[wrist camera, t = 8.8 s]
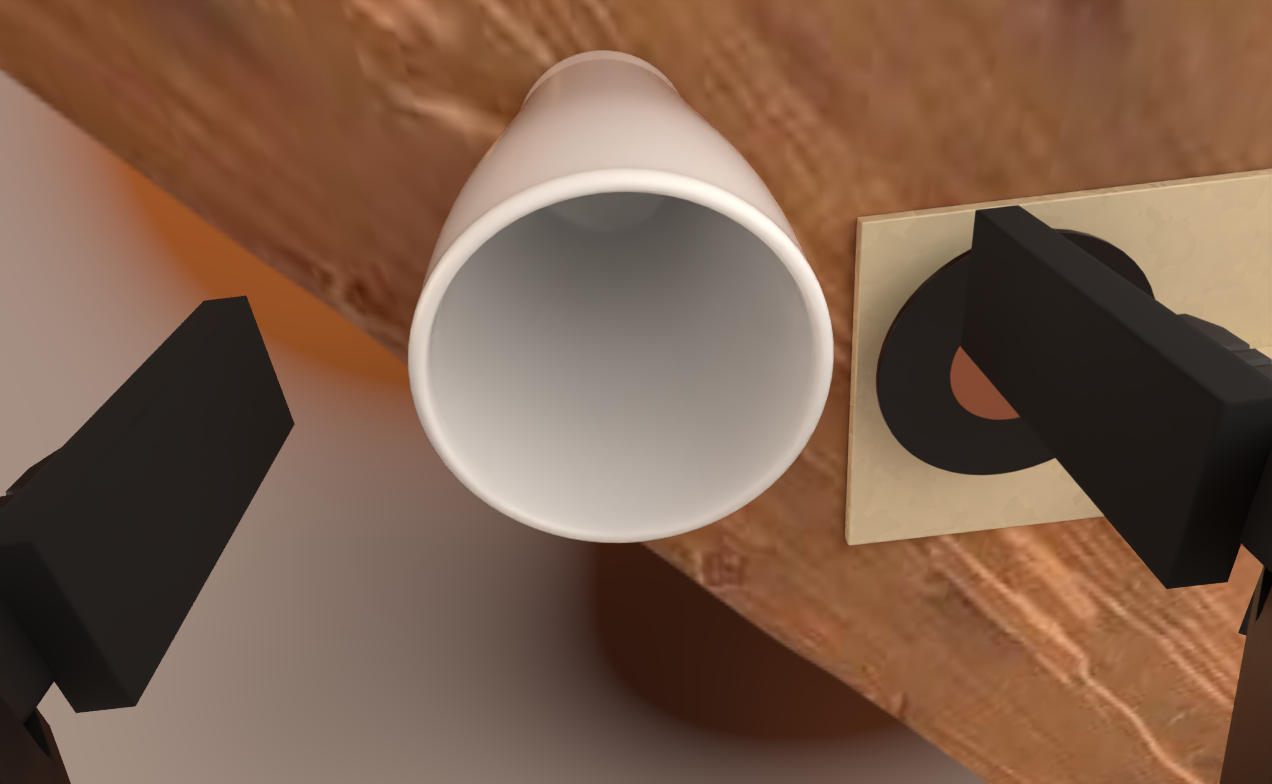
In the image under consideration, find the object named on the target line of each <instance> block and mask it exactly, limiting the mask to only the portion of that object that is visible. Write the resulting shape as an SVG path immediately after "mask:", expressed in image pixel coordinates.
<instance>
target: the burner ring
mask: <svg viewBox="0 0 1272 784" xmlns="http://www.w3.org/2000/svg"><path fill="white" fill-rule="evenodd" d="M1052 229H1054V230H1055V231H1057V232H1058V233H1060V234H1061V235H1063V236H1064V237H1065V238H1067V239H1068V240H1070V241H1071V242H1073V243H1074V244H1076V245H1077V246H1078V247H1080V248H1081V249H1083V250H1084V251H1086V252H1087V253H1089V254H1090V255H1092V256H1093V257H1094V258H1096V259H1097V260H1099V261H1100V262H1102V263H1103V264H1105V265H1106V266H1107V267H1109V268H1110V269H1112V270H1113V271H1115V272H1116V273H1118V274H1119V275H1121V276H1122V277H1123V278H1125V279H1126V280H1128V281H1129V282H1131V283H1132V284H1134V285H1135V286H1136V287H1138V288H1139V289H1141V290H1142V291H1144V292H1145V293H1147V294H1148V295H1150V296H1151V297H1152V298H1154V299H1155V297H1154V294H1153V290H1152V287H1151V285H1150V283H1149V281H1148V279H1147V277H1146V276H1145V274H1144V272H1143V271H1142V270H1141V268H1140V267H1139V266H1138V265H1137V263H1136V262H1135V261H1134V260H1133V259H1132V258H1131V257H1129V256H1128V255H1127V254H1126V253H1125V252H1124V251H1122V250H1121V249H1119V248H1118V247H1116V246H1114V245H1113V244H1111V243H1109V242H1108V241H1106V240H1104V239H1102V238H1099V237H1096V236H1094V235H1091V234H1089V233H1084V232H1079V231H1075V230H1069V229H1055V228H1052ZM970 255H971V249H969V250H968V251H966V252H964V253H962V254H960V255H959V256H957V257H955V258H954V259H952V260H951V261H949V262H948V263H947V264H945V265H944V266H942V267H941V268H939V269H938V270H937V271H936V272H935V273H933V274H932V275H931V276H930V277H929V278H928V279H927V280H925V281H924V282H923V283H922V284H921V285H920V286H919V287H918V289H917V290H916V291H915V292H914V293H913V294H912V295H911V296H910V297H909V299H908V300H907V301H906V303H905V304H904V305H903V307H902V308H901V309H900V311H899V312H898V314H897V315H896V317H895V319H894V321H893V322H892V324H891V326H890V328H889V330H888V332H887V334H886V337H885V339H884V341H883V344H882V347H881V351H880V355H879V358H878V363H877V371H876V394H877V399H878V405H879V408H880V411H881V413H882V416H883V419H884V421H885V423H886V424H887V426H888V428H889V430H890V431H891V433H892V435H893V436H894V437H895V438H896V440H897V441H898V442H899V443H900V445H901V446H903V447H904V448H905V449H906V450H907V451H908V452H909V453H910V454H912V455H913V456H915V457H916V458H918V459H920V460H921V461H923V462H925V463H927V464H929V465H931V466H934V467H936V468H939V469H942V470H945V471H949V472H953V473H959V474H965V475H997V474H1004V473H1010V472H1016V471H1020V470H1023V469H1027V468H1031V467H1034V466H1037V465H1039V464H1042V463H1045V462H1048V461H1050V460H1052V459H1054V458H1055V457H1054V456H1053V455H1052V454H1051V452H1050V451H1049V450H1048V449H1047V448H1046V447H1045V445H1044V444H1043V443H1042V442H1041V441H1040V440H1039V438H1038V437H1037V436H1036V435H1035V434H1034V432H1033V431H1032V430H1031V429H1030V428H1029V427H1028V425H1027V424H1026V423H1025V422H1024V421H1023V420H1022V418H1021V417H1020V416H1019V415H1018V414H1017V413H1016V411H1015V410H1014V409H1013V408H1012V407H1011V405H1010V404H1009V403H1008V402H1007V401H1006V400H1005V398H1004V397H1003V396H1002V395H1001V394H1000V393H999V391H998V390H997V389H996V388H995V387H994V386H993V384H992V383H991V382H990V381H989V380H988V378H987V377H986V376H985V375H984V374H983V373H982V371H981V370H980V369H979V368H978V367H977V366H976V364H975V363H974V362H973V361H972V360H971V358H970V357H969V356H968V355H967V354H966V353H965V351H964V350H963V349H962V348H961V347H960V346H961V337H962V328H963V319H964V310H965V301H966V292H967V283H968V273H969V264H970Z"/></svg>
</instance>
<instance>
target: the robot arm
mask: <svg viewBox="0 0 1272 784" xmlns="http://www.w3.org/2000/svg"><path fill="white" fill-rule="evenodd" d="M960 347H961V348H962V349H963V350H964V351H965V353H966V354H967V355H968V356H969V357H970V358H971V360H972V361H973V362H974V363H975V364H976V366H977V367H978V368H979V369H980V370H981V371H982V373H983V374H984V375H985V376H986V377H987V378H988V380H989V381H990V382H991V383H992V384H993V386H994V387H995V388H996V389H997V390H998V391H999V393H1000V394H1001V395H1002V396H1003V397H1004V398H1005V400H1006V401H1007V402H1008V403H1009V404H1010V405H1011V407H1012V408H1013V409H1014V410H1015V411H1016V413H1017V414H1018V415H1019V416H1020V417H1021V418H1022V420H1023V421H1024V422H1025V423H1026V424H1027V425H1028V427H1029V428H1030V429H1031V430H1032V431H1033V432H1034V434H1035V435H1036V436H1037V437H1038V438H1039V440H1040V441H1041V442H1042V443H1043V444H1044V445H1045V447H1046V448H1047V449H1048V450H1049V451H1050V452H1051V454H1052V455H1053V456H1054V457H1055V458H1056V460H1057V461H1058V462H1059V463H1060V464H1061V465H1062V467H1063V468H1064V469H1065V470H1066V471H1067V472H1068V474H1069V475H1070V476H1071V477H1072V478H1073V479H1074V481H1075V482H1076V483H1077V484H1078V485H1079V487H1080V488H1081V489H1082V490H1083V491H1084V492H1085V494H1086V495H1087V496H1088V497H1089V498H1090V499H1091V501H1092V502H1093V503H1094V504H1095V505H1096V507H1097V508H1098V509H1099V510H1100V511H1101V512H1102V514H1103V515H1104V516H1105V517H1106V518H1107V519H1108V521H1109V522H1110V523H1111V524H1112V525H1113V526H1114V528H1115V529H1116V530H1117V531H1118V532H1119V534H1120V535H1121V536H1122V537H1123V538H1124V539H1125V541H1126V542H1127V543H1128V544H1129V545H1130V546H1131V548H1132V549H1133V550H1134V551H1135V552H1136V554H1137V555H1138V556H1139V557H1140V558H1141V559H1142V561H1143V562H1144V563H1145V564H1146V565H1147V566H1148V568H1149V569H1150V570H1151V571H1152V572H1153V573H1154V575H1155V576H1156V577H1157V578H1158V579H1159V581H1160V582H1161V583H1162V584H1163V585H1164V586H1165V588H1166V589H1171V588H1179V587H1188V586H1197V585H1206V584H1215V583H1223V582H1228V579H1229V576H1230V573H1231V571H1232V568H1233V565H1234V562H1235V559H1236V557H1237V554H1238V551H1239V548H1240V545H1241V544H1242V545H1243V546H1244V547H1245V548H1246V549H1247V550H1248V551H1249V552H1250V553H1252V554H1253V555H1254V556H1255V557H1256V558H1257V559H1258V560H1259V561H1260V562H1261V563H1262V564H1263V565H1264V567H1263V569H1262V572H1261V575H1260V577H1259V580H1258V583H1257V585H1256V588H1255V590H1254V593H1253V596H1252V598H1251V601H1250V604H1249V606H1248V609H1247V611H1246V614H1245V617H1244V619H1243V622H1242V625H1241V627H1240V630H1239V632H1238V633H1240V634H1243V635H1246V642H1245V647H1244V653H1243V658H1242V664H1241V669H1240V675H1239V680H1238V686H1237V691H1236V697H1235V702H1234V708H1233V713H1232V719H1231V724H1230V730H1229V735H1228V741H1227V746H1226V752H1225V757H1224V763H1223V768H1222V773H1221V779H1220V784H1272V359H1271V358H1269V357H1267V356H1266V355H1264V354H1263V353H1261V352H1260V351H1258V350H1257V349H1255V348H1254V349H1250V345H1249V344H1248V343H1246V342H1245V341H1243V340H1242V339H1240V338H1239V337H1237V336H1236V335H1234V334H1233V333H1231V332H1230V331H1228V330H1227V329H1225V328H1224V327H1221V326H1218V325H1216V324H1213V323H1210V322H1208V321H1205V320H1202V319H1200V318H1197V317H1194V316H1191V315H1189V314H1186V313H1185V314H1176V313H1174V312H1173V311H1171V310H1170V309H1168V308H1167V307H1165V306H1164V305H1163V304H1161V303H1160V302H1158V301H1157V300H1155V299H1154V298H1152V297H1151V296H1150V295H1148V294H1147V293H1145V292H1144V291H1142V290H1141V289H1139V288H1138V287H1136V286H1135V285H1134V284H1132V283H1131V282H1129V281H1128V280H1126V279H1125V278H1123V277H1122V276H1121V275H1119V274H1118V273H1116V272H1115V271H1113V270H1112V269H1110V268H1109V267H1107V266H1106V265H1105V264H1103V263H1102V262H1100V261H1099V260H1097V259H1096V258H1094V257H1093V256H1092V255H1090V254H1089V253H1087V252H1086V251H1084V250H1083V249H1081V248H1080V247H1078V246H1077V245H1076V244H1074V243H1073V242H1071V241H1070V240H1068V239H1067V238H1065V237H1064V236H1063V235H1061V234H1060V233H1058V232H1057V231H1055V230H1054V229H1052V228H1051V227H1049V226H1048V225H1047V224H1045V223H1044V222H1042V221H1041V220H1039V219H1038V218H1036V217H1035V216H1034V215H1032V214H1031V213H1029V212H1028V211H1026V210H1025V209H1023V208H1022V207H1020V206H1019V205H1014V206H1006V207H997V208H989V209H980V210H975V219H974V228H973V237H972V246H971V255H970V264H969V273H968V283H967V292H966V301H965V310H964V319H963V328H962V337H961V346H960ZM293 426H294V422H293V419H292V416H291V413H290V411H289V408H288V406H287V403H286V400H285V397H284V395H283V392H282V389H281V387H280V384H279V382H278V379H277V376H276V373H275V371H274V368H273V366H272V363H271V360H270V358H269V355H268V352H267V350H266V347H265V345H264V342H263V339H262V336H261V334H260V331H259V328H258V326H257V323H256V320H255V318H254V315H253V312H252V310H251V307H250V305H249V302H248V299H247V297H246V296H240V297H231V298H223V299H214V300H206V301H203V302H202V303H201V304H200V305H199V306H198V308H196V309H195V311H194V312H193V313H192V314H191V315H190V316H189V317H188V318H187V319H186V320H185V321H184V322H183V323H182V324H181V325H180V326H179V327H178V328H177V329H176V330H175V331H174V332H173V333H172V334H171V335H170V336H169V338H167V340H165V341H164V343H163V344H162V345H161V346H160V347H159V348H158V349H157V350H156V351H155V352H154V353H153V354H152V355H151V356H150V357H149V358H148V359H147V360H146V361H145V362H144V363H143V364H142V365H141V366H140V367H139V368H138V370H136V371H135V372H134V373H133V374H132V375H131V377H130V378H129V379H128V380H127V381H126V382H125V383H124V384H123V385H122V386H121V387H120V388H119V389H118V390H117V391H116V392H115V393H114V394H113V395H112V396H111V397H110V398H109V399H108V400H107V401H106V402H105V404H103V405H102V406H101V407H100V408H99V410H98V411H97V412H96V413H95V414H94V415H93V416H92V417H91V418H90V419H89V420H88V421H87V422H86V423H85V424H84V425H83V426H82V427H81V428H80V429H79V430H78V431H77V432H76V433H75V434H74V435H73V436H72V437H71V438H70V439H69V440H68V441H67V442H66V444H65V445H64V446H63V447H61V448H60V449H58V450H57V451H55V452H53V453H52V454H51V455H49V456H47V457H46V458H44V459H43V460H41V461H40V462H38V463H37V464H35V465H33V466H32V467H30V468H29V469H28V470H27V471H26V472H25V473H24V474H23V475H22V476H21V477H20V478H19V479H18V480H17V481H16V482H15V483H14V484H13V485H12V486H11V487H10V488H9V489H8V490H7V491H6V496H1V497H0V784H71V783H70V780H69V778H68V775H67V772H66V769H65V766H64V764H63V761H62V758H61V756H60V753H59V750H58V747H57V744H56V742H55V739H54V736H53V733H52V731H51V728H50V726H49V724H48V723H47V722H46V720H45V719H44V717H43V716H42V714H41V713H40V712H39V710H38V709H37V705H38V704H39V702H40V701H41V700H42V698H43V697H44V695H45V694H46V692H47V691H48V689H49V688H50V686H51V685H52V683H53V682H55V683H56V685H57V686H58V687H59V689H60V690H61V692H62V693H63V695H64V696H65V698H66V699H67V701H68V702H69V704H70V705H71V706H72V708H73V709H74V711H75V712H76V713H80V712H89V711H97V710H107V709H116V708H124V707H133V706H136V705H137V703H138V701H139V699H140V697H141V696H142V694H143V692H144V690H145V689H146V687H147V685H148V683H149V681H150V680H151V678H152V676H153V674H154V673H155V671H156V669H157V667H158V665H159V664H160V662H161V660H162V658H163V657H164V655H165V653H166V651H167V650H168V648H169V646H170V644H171V642H172V640H173V639H174V637H175V635H176V634H177V632H178V630H179V628H180V626H181V625H182V623H183V621H184V619H185V618H186V616H187V614H188V612H189V610H190V609H191V607H192V605H193V603H194V602H195V600H196V598H197V596H198V594H199V593H200V591H201V589H202V587H203V586H204V583H205V582H206V580H207V579H208V577H209V575H210V573H211V571H212V569H213V568H214V566H215V564H216V562H217V561H218V559H219V557H220V555H221V554H222V552H223V550H224V548H225V546H226V545H227V543H228V541H229V539H230V538H231V536H232V534H233V532H234V531H235V529H236V527H237V525H238V523H239V522H240V520H241V518H242V516H243V514H244V513H245V511H246V509H247V508H248V506H249V504H250V502H251V500H252V499H253V497H254V495H255V493H256V492H257V490H258V488H259V486H260V484H261V483H262V481H263V479H264V477H265V475H266V474H267V472H268V470H269V468H270V467H271V465H272V463H273V461H274V460H275V458H276V456H277V454H278V452H279V451H280V449H281V447H282V445H283V444H284V442H285V440H286V438H287V436H288V435H289V433H290V431H291V429H292V428H293Z"/></svg>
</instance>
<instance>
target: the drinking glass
mask: <svg viewBox="0 0 1272 784" xmlns="http://www.w3.org/2000/svg"><path fill="white" fill-rule="evenodd" d="M833 360H834V347H833V333H832V326H831V319H830V315H829V311H828V307H827V303H826V300H825V298H824V295H823V292H822V290H821V287H820V284H819V282H818V280H817V278H816V276H815V274H814V273H813V271H812V268H811V266H810V264H809V261H808V259H807V257H806V255H805V253H804V251H803V249H802V247H801V245H800V243H799V241H798V239H797V237H796V235H795V233H794V231H793V229H792V227H791V225H790V223H789V221H788V219H787V218H786V216H785V214H784V212H783V211H782V209H781V207H780V206H779V204H778V203H777V201H776V200H775V198H774V197H773V195H772V194H771V192H770V191H769V189H768V188H767V186H766V185H765V183H764V182H763V180H762V179H761V178H760V176H759V175H758V174H757V172H756V171H755V170H754V169H753V167H752V166H751V165H750V164H749V163H748V161H747V160H746V159H745V158H744V157H743V155H742V154H741V153H740V152H739V151H738V150H737V149H736V148H735V147H734V146H733V145H732V144H731V143H730V142H729V141H728V140H727V139H726V138H725V137H724V136H723V135H722V134H721V133H720V132H719V131H718V130H716V129H715V128H714V127H713V126H712V125H711V124H710V123H709V122H708V121H707V120H705V119H704V118H703V117H702V116H701V115H700V114H699V113H698V112H696V111H695V110H694V109H693V108H692V107H691V106H690V105H689V104H688V103H687V102H686V101H685V100H683V99H682V98H681V96H680V94H679V93H678V91H677V90H676V88H675V87H674V85H673V84H672V83H671V82H670V80H669V79H668V78H667V77H666V76H665V75H664V74H663V73H662V72H660V71H659V70H658V69H657V68H655V67H654V66H652V65H651V64H649V63H648V62H646V61H644V60H642V59H640V58H638V57H636V56H633V55H630V54H627V53H623V52H618V51H611V50H595V51H588V52H583V53H579V54H576V55H573V56H571V57H568V58H566V59H564V60H562V61H560V62H558V63H557V64H555V65H554V66H552V67H551V68H550V69H549V70H547V71H546V72H545V73H544V74H543V75H542V76H541V77H540V78H539V79H538V80H537V81H536V82H535V84H534V85H533V86H532V88H531V89H530V91H529V92H528V94H527V96H526V98H525V99H524V101H523V104H522V106H521V109H520V111H519V112H518V113H517V115H516V116H515V117H514V118H513V120H512V121H511V122H510V124H509V125H508V126H507V127H506V129H505V130H504V131H503V132H502V134H501V135H500V136H499V137H498V139H497V140H496V141H495V142H494V144H493V145H492V146H491V147H490V148H489V150H488V151H487V152H486V153H485V155H484V156H483V157H482V159H481V160H480V161H479V163H478V164H477V165H476V167H475V168H474V170H473V172H472V173H471V175H470V176H469V178H468V179H467V181H466V182H465V184H464V185H463V187H462V189H461V191H460V192H459V194H458V196H457V198H456V200H455V202H454V204H453V206H452V208H451V210H450V212H449V214H448V216H447V218H446V220H445V222H444V225H443V227H442V230H441V232H440V235H439V237H438V240H437V242H436V245H435V248H434V250H433V253H432V256H431V259H430V262H429V265H428V268H427V271H426V274H425V278H424V282H423V285H422V289H421V293H420V297H419V301H418V303H417V306H416V309H415V313H414V317H413V321H412V325H411V330H410V337H409V345H408V373H409V383H410V389H411V393H412V398H413V402H414V406H415V409H416V412H417V415H418V418H419V421H420V423H421V425H422V427H423V429H424V432H425V434H426V436H427V438H428V440H429V441H430V443H431V445H432V446H433V448H434V450H435V451H436V453H437V454H438V456H439V457H440V458H441V460H442V461H443V462H444V464H445V465H446V466H447V468H448V469H449V470H450V471H451V472H452V473H453V474H454V475H455V477H456V478H457V479H458V480H459V481H460V482H461V483H462V484H463V485H464V486H466V487H467V488H468V489H469V490H470V491H471V492H472V493H473V494H475V495H476V496H477V497H479V498H480V499H481V500H482V501H484V502H485V503H486V504H488V505H490V506H491V507H493V508H494V509H496V510H497V511H499V512H501V513H502V514H504V515H506V516H508V517H510V518H512V519H514V520H516V521H518V522H520V523H523V524H525V525H527V526H530V527H532V528H535V529H538V530H541V531H544V532H547V533H550V534H553V535H558V536H562V537H566V538H571V539H577V540H583V541H591V542H604V543H628V542H643V541H649V540H656V539H662V538H667V537H671V536H676V535H680V534H683V533H686V532H689V531H693V530H696V529H698V528H701V527H704V526H706V525H709V524H711V523H714V522H716V521H718V520H720V519H722V518H724V517H726V516H728V515H730V514H732V513H733V512H735V511H737V510H738V509H740V508H742V507H744V506H745V505H746V504H748V503H749V502H751V501H752V500H754V499H755V498H757V497H758V496H759V495H760V494H762V493H763V492H764V491H765V490H766V489H768V488H769V487H770V486H771V485H772V484H773V483H774V482H776V481H777V480H778V479H779V478H780V477H781V476H782V475H783V474H784V473H785V472H786V470H787V469H788V468H789V467H790V466H791V464H792V463H793V462H794V461H795V460H796V458H797V457H798V456H799V454H800V453H801V451H802V450H803V449H804V447H805V446H806V444H807V443H808V441H809V439H810V437H811V435H812V434H813V432H814V430H815V428H816V426H817V424H818V421H819V419H820V417H821V415H822V412H823V410H824V406H825V403H826V400H827V397H828V393H829V389H830V384H831V379H832V371H833Z"/></svg>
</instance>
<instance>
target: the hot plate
mask: <svg viewBox="0 0 1272 784" xmlns="http://www.w3.org/2000/svg"><path fill="white" fill-rule="evenodd" d="M1014 205H1019V206H1020V207H1022V208H1023V209H1025V210H1026V211H1028V212H1029V213H1031V214H1032V215H1034V216H1035V217H1036V218H1038V219H1039V220H1041V221H1042V222H1044V223H1045V224H1047V225H1048V226H1049V227H1051V228H1055V229H1069V230H1075V231H1079V232H1084V233H1089V234H1091V235H1094V236H1096V237H1099V238H1102V239H1104V240H1106V241H1108V242H1109V243H1111V244H1113V245H1114V246H1116V247H1118V248H1119V249H1121V250H1122V251H1124V252H1125V253H1126V254H1127V255H1128V256H1129V257H1131V258H1132V259H1133V260H1134V261H1135V262H1136V263H1137V265H1138V266H1139V267H1140V268H1141V270H1142V271H1143V272H1144V274H1145V276H1146V277H1147V279H1148V281H1149V283H1150V285H1151V287H1152V290H1153V294H1154V297H1155V300H1157V301H1158V302H1160V303H1161V304H1163V305H1164V306H1165V307H1167V308H1168V309H1170V310H1171V311H1173V312H1174V313H1176V314H1185V313H1186V314H1189V315H1191V316H1194V317H1197V318H1200V319H1202V320H1205V321H1208V322H1210V323H1213V324H1216V325H1218V326H1221V327H1224V328H1225V329H1227V330H1228V331H1230V332H1231V333H1233V334H1234V335H1236V336H1237V337H1239V338H1240V339H1242V340H1243V341H1245V342H1246V343H1248V344H1249V345H1250V349H1254V348H1255V349H1257V350H1258V351H1260V352H1261V353H1263V354H1264V355H1266V356H1267V357H1269V358H1271V359H1272V169H1263V170H1255V171H1246V172H1238V173H1229V174H1221V175H1212V176H1204V177H1195V178H1187V179H1178V180H1170V181H1161V182H1153V183H1144V184H1136V185H1127V186H1119V187H1110V188H1102V189H1093V190H1085V191H1076V192H1068V193H1059V194H1051V195H1042V196H1034V197H1025V198H1017V199H1008V200H1000V201H991V202H983V203H974V204H966V205H957V206H949V207H940V208H932V209H923V210H914V211H906V212H897V213H889V214H880V215H872V216H863V217H858V218H857V234H856V260H855V287H854V313H853V339H852V365H851V391H850V418H849V444H848V470H847V496H846V523H845V538H846V540H847V543H848V545H858V544H867V543H876V542H884V541H893V540H902V539H911V538H919V537H928V536H937V535H946V534H954V533H963V532H972V531H981V530H989V529H998V528H1007V527H1015V526H1024V525H1033V524H1042V523H1050V522H1059V521H1068V520H1077V519H1085V518H1094V517H1103V516H1104V515H1103V514H1102V512H1101V511H1100V510H1099V509H1098V508H1097V507H1096V505H1095V504H1094V503H1093V502H1092V501H1091V499H1090V498H1089V497H1088V496H1087V495H1086V494H1085V492H1084V491H1083V490H1082V489H1081V488H1080V487H1079V485H1078V484H1077V483H1076V482H1075V481H1074V479H1073V478H1072V477H1071V476H1070V475H1069V474H1068V472H1067V471H1066V470H1065V469H1064V468H1063V467H1062V465H1061V464H1060V463H1059V462H1058V461H1057V460H1056V458H1054V459H1052V460H1050V461H1048V462H1045V463H1042V464H1039V465H1037V466H1034V467H1031V468H1027V469H1023V470H1020V471H1016V472H1010V473H1004V474H997V475H965V474H959V473H953V472H949V471H945V470H942V469H939V468H936V467H934V466H931V465H929V464H927V463H925V462H923V461H921V460H920V459H918V458H916V457H915V456H913V455H912V454H910V453H909V452H908V451H907V450H906V449H905V448H904V447H903V446H901V445H900V443H899V442H898V441H897V440H896V438H895V437H894V436H893V435H892V433H891V431H890V430H889V428H888V426H887V424H886V423H885V421H884V419H883V416H882V413H881V411H880V408H879V405H878V399H877V394H876V371H877V363H878V358H879V355H880V351H881V347H882V344H883V341H884V339H885V337H886V334H887V332H888V330H889V328H890V326H891V324H892V322H893V321H894V319H895V317H896V315H897V314H898V312H899V311H900V309H901V308H902V307H903V305H904V304H905V303H906V301H907V300H908V299H909V297H910V296H911V295H912V294H913V293H914V292H915V291H916V290H917V289H918V287H919V286H920V285H921V284H922V283H923V282H924V281H925V280H927V279H928V278H929V277H930V276H931V275H932V274H933V273H935V272H936V271H937V270H938V269H939V268H941V267H942V266H944V265H945V264H947V263H948V262H949V261H951V260H952V259H954V258H955V257H957V256H959V255H960V254H962V253H964V252H966V251H968V250H969V249H971V246H972V237H973V228H974V219H975V210H980V209H989V208H997V207H1006V206H1014Z"/></svg>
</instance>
